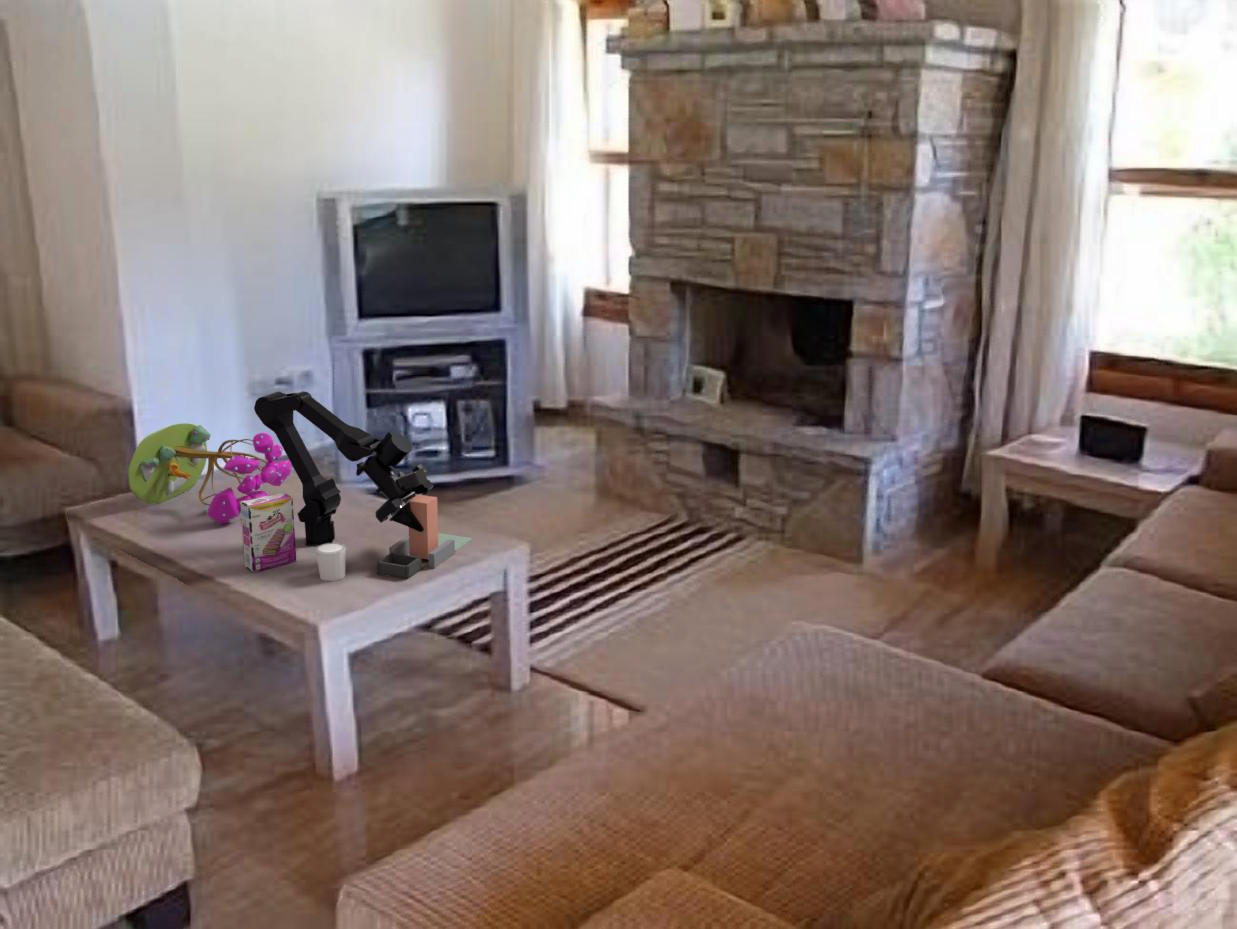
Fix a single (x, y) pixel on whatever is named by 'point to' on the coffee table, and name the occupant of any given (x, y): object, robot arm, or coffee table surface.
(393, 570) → the dark grey open box
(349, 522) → the coffee table surface
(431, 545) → the salmon-pink block
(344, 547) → the white cup
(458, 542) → the sage mat
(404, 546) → the grey parallel walls
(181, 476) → the lily pad toy
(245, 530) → the candy bar box
